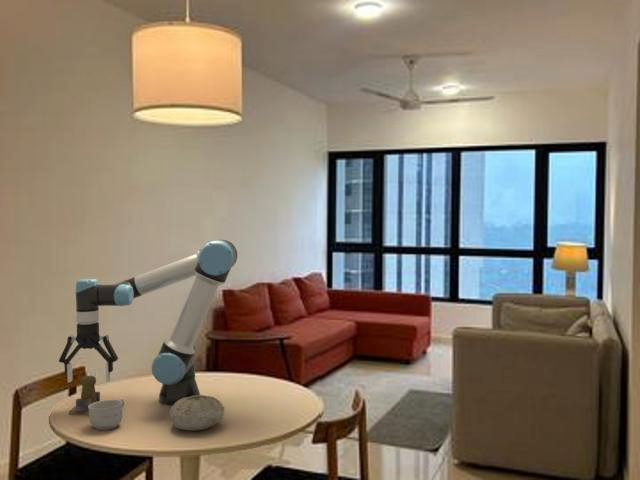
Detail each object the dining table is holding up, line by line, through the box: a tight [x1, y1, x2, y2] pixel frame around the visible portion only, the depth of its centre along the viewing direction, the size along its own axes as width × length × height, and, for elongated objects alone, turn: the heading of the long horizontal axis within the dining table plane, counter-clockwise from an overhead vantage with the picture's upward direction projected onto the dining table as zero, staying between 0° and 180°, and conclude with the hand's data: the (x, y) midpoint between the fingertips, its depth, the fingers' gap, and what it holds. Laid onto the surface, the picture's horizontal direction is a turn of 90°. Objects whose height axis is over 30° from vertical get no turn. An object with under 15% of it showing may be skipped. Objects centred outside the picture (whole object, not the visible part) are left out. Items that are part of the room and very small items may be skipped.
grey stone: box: [169, 394, 225, 432], centre depth 208 cm, size 18×18×10 cm
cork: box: [80, 375, 97, 404], centre depth 224 cm, size 6×6×11 cm
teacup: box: [88, 398, 125, 431], centre depth 208 cm, size 14×11×8 cm
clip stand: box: [68, 391, 101, 415], centre depth 224 cm, size 10×10×5 cm
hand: (89, 381), depth 224 cm, fingers open, 13 cm apart
